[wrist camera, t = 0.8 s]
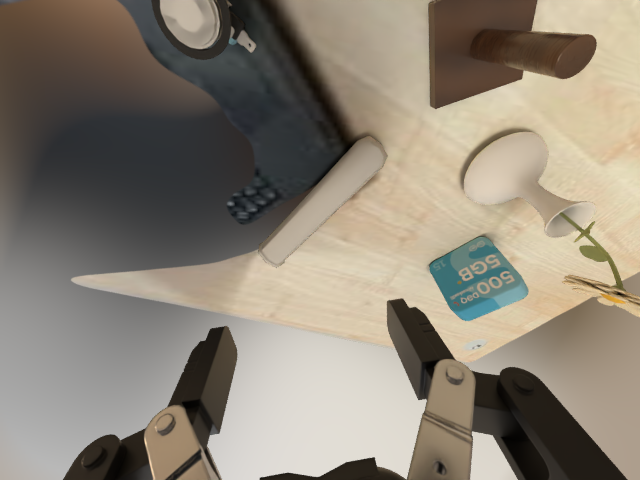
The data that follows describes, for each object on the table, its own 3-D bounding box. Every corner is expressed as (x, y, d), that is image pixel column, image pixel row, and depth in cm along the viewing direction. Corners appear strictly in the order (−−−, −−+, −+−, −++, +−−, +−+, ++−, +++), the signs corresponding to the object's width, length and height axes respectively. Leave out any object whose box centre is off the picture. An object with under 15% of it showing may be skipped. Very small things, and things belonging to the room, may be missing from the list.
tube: (366, 130, 30) (253, 252, 41) (396, 162, 31) (278, 272, 42) (366, 126, 34) (264, 237, 46) (392, 154, 35) (287, 256, 47)
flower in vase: (450, 157, 37) (609, 300, 18) (536, 110, 33) (842, 228, 15) (468, 215, 45) (592, 358, 26) (539, 182, 41) (743, 320, 22)
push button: (269, 24, 26) (258, 27, 18) (241, 71, 28) (222, 90, 21) (206, -41, 22) (162, -70, 15) (181, 18, 25) (133, 18, 17)
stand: (428, 3, 26) (515, -6, 15) (534, -41, 24) (706, -82, 14) (430, 105, 32) (492, 146, 22) (513, 76, 31) (621, 106, 20)
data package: (483, 233, 48) (527, 283, 39) (491, 245, 50) (533, 294, 41) (426, 264, 53) (453, 315, 44) (435, 274, 55) (463, 324, 46)
